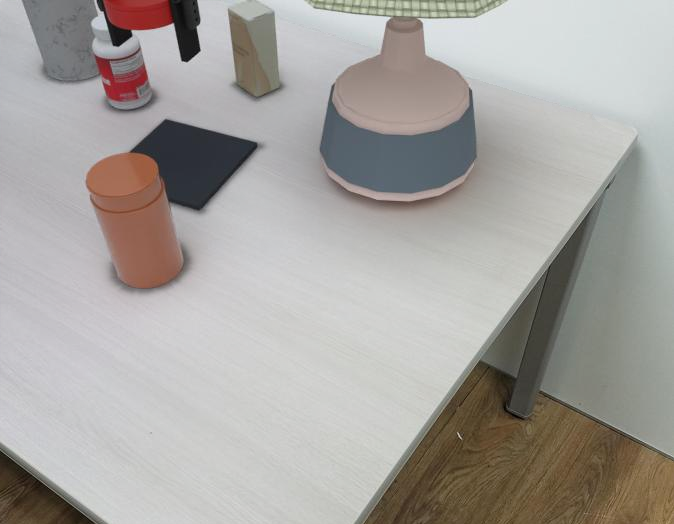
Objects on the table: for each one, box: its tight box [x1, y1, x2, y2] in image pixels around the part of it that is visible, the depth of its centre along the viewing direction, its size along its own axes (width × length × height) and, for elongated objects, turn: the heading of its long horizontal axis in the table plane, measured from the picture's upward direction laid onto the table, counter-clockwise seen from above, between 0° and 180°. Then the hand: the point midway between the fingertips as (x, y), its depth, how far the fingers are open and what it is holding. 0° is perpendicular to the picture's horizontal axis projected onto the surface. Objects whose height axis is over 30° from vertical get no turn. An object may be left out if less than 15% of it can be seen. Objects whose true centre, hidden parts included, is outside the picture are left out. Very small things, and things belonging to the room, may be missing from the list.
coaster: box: [128, 118, 258, 211], centre depth 88 cm, size 14×14×1 cm
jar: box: [84, 152, 185, 289], centre depth 71 cm, size 7×7×12 cm
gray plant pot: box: [21, 0, 100, 82], centre depth 100 cm, size 10×10×12 cm
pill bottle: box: [91, 13, 153, 110], centre depth 94 cm, size 6×6×11 cm
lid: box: [103, 0, 174, 31], centre depth 72 cm, size 8×8×2 cm
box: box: [226, 0, 281, 98], centre depth 95 cm, size 5×4×11 cm
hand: (156, 48), depth 76 cm, fingers closed on lid, 8 cm apart
